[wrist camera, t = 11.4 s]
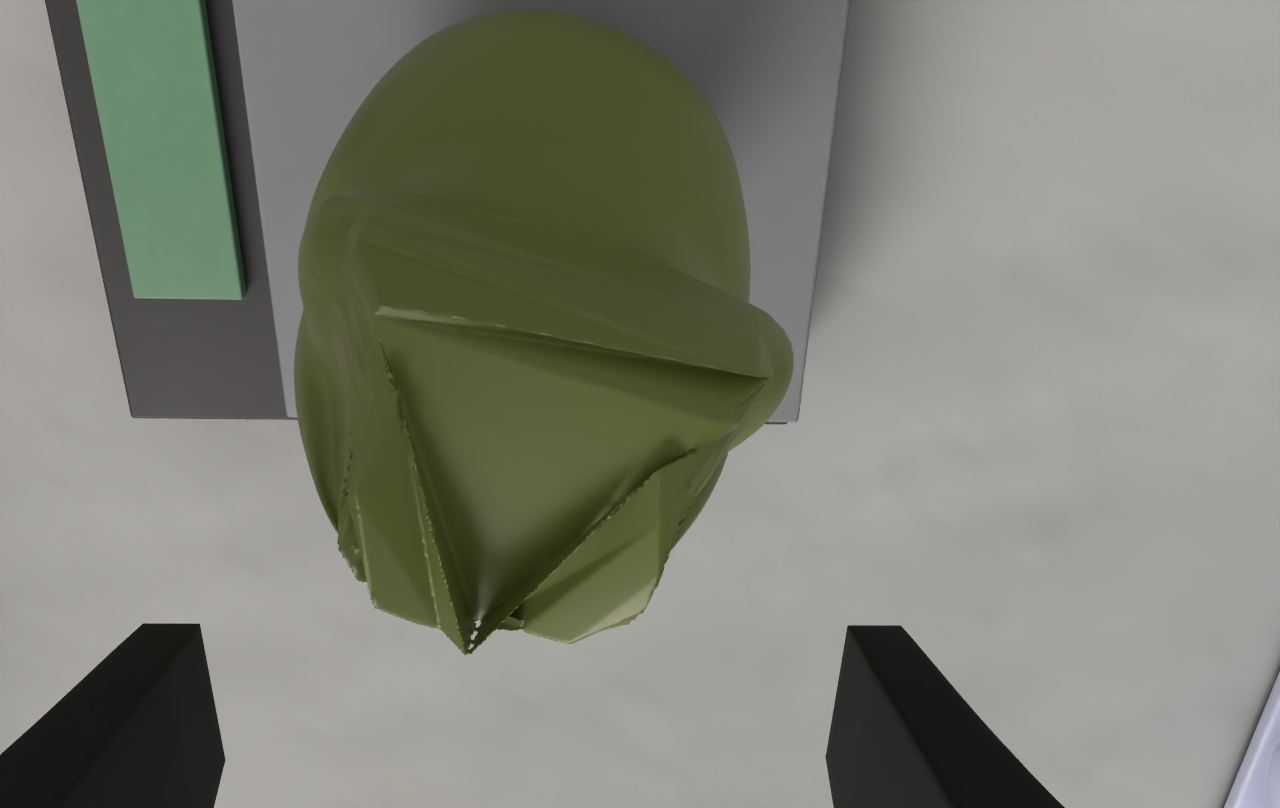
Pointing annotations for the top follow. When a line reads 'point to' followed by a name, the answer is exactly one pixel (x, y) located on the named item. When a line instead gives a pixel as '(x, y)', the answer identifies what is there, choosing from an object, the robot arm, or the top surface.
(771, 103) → the scale
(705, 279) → the pear
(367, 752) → the top surface
